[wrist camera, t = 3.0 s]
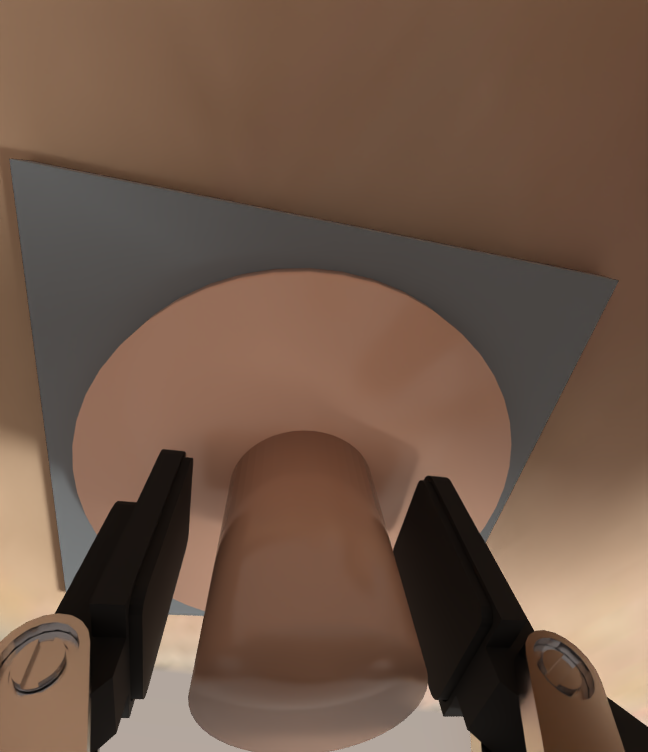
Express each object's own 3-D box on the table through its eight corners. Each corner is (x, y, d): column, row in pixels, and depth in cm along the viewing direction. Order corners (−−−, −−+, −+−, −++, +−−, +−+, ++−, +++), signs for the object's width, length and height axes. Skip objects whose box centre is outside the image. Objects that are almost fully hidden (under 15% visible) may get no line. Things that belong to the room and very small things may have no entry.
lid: (566, 311, 10) (854, 443, 5) (429, 608, 15) (502, 827, 10) (67, 223, 8) (-293, 288, 3) (98, 593, 13) (-22, 852, 8)
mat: (602, 275, 11) (619, 280, 10) (438, 609, 16) (444, 624, 16) (27, 159, 8) (9, 158, 8) (76, 594, 14) (68, 610, 14)
